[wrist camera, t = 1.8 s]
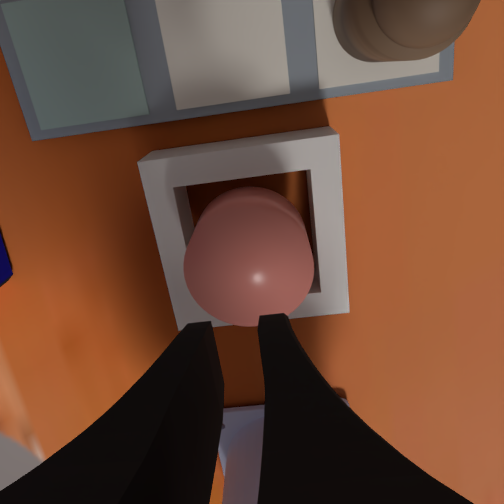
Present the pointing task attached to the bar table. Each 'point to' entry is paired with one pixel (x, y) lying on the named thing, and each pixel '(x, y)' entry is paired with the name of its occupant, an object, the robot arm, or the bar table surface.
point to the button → (249, 257)
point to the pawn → (399, 27)
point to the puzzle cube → (4, 264)
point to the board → (182, 60)
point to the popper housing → (243, 166)
